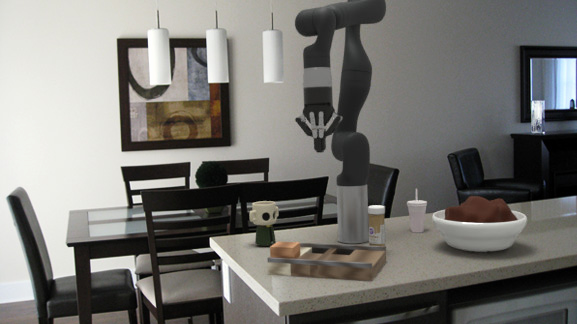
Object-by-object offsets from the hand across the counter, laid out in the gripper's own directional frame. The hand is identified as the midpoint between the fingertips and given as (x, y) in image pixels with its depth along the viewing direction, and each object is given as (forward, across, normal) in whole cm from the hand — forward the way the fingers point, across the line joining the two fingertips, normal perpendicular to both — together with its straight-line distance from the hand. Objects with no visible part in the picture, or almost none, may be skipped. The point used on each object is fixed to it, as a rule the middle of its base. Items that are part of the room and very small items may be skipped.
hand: (320, 152), depth 152 cm
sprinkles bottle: (+29, -13, -9) cm, 33 cm away
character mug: (+29, +22, -14) cm, 39 cm away
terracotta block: (+26, +7, +11) cm, 29 cm away
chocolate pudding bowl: (+29, -39, -21) cm, 53 cm away
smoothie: (+29, -19, -41) cm, 54 cm away
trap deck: (+29, -3, +7) cm, 30 cm away
